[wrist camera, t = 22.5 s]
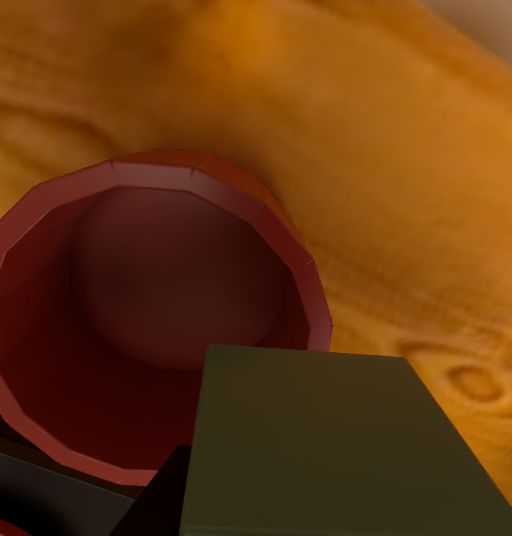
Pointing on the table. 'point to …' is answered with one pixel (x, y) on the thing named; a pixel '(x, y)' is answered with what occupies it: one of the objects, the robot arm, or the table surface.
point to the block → (329, 451)
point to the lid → (11, 530)
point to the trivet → (57, 495)
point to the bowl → (142, 302)
